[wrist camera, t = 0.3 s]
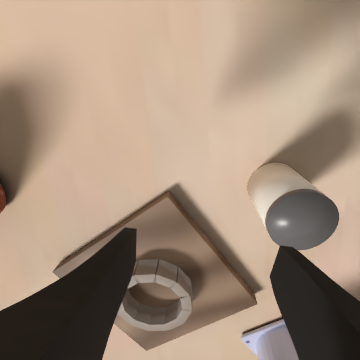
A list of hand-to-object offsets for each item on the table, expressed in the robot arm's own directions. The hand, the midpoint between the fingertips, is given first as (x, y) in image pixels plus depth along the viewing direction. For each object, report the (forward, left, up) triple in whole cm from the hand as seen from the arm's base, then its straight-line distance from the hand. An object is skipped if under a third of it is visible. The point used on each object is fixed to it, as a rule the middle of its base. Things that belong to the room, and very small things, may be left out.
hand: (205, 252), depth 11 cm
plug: (-4, -5, -10) cm, 12 cm away
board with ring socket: (-7, +11, -10) cm, 16 cm away
